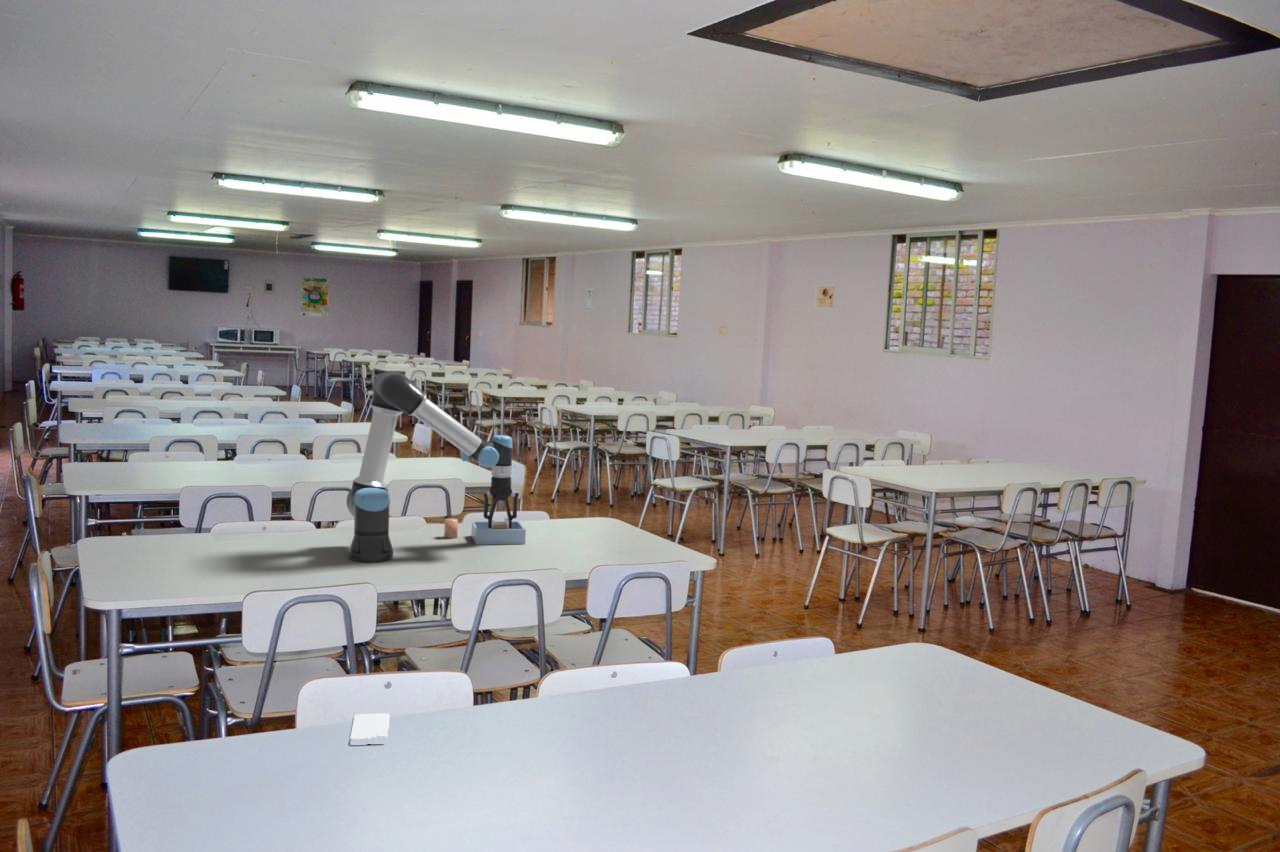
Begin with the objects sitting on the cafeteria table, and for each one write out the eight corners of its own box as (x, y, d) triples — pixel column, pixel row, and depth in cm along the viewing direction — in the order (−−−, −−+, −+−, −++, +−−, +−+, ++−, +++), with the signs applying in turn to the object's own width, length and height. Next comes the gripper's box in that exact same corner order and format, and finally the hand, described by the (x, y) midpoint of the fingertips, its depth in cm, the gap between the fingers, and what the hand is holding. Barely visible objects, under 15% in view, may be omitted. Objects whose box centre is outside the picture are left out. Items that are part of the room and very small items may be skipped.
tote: (475, 544, 372) (476, 530, 371) (471, 535, 387) (471, 521, 386) (525, 543, 377) (525, 529, 376) (518, 535, 392) (519, 521, 391)
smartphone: (348, 744, 194) (354, 714, 208) (348, 748, 194) (354, 717, 208) (387, 743, 195) (390, 712, 210) (387, 746, 195) (390, 716, 210)
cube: (492, 536, 379) (492, 523, 379) (505, 536, 381) (505, 523, 380) (493, 539, 375) (494, 526, 374) (507, 538, 376) (507, 525, 376)
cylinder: (444, 539, 379) (445, 520, 378) (443, 536, 384) (444, 518, 383) (458, 538, 380) (458, 520, 380) (456, 535, 385) (457, 518, 384)
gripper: (478, 477, 370) (476, 539, 372) (526, 477, 375) (524, 538, 377) (476, 474, 377) (474, 534, 379) (523, 474, 382) (521, 534, 384)
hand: (499, 536), depth 378 cm, fingers closed on cube, 5 cm apart
